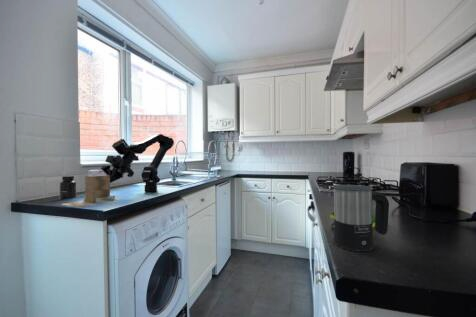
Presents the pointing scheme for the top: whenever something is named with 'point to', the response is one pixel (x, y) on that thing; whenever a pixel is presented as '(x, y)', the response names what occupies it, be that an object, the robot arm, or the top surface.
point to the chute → (98, 201)
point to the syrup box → (95, 172)
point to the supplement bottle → (67, 187)
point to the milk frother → (358, 216)
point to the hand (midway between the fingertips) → (106, 183)
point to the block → (96, 187)
